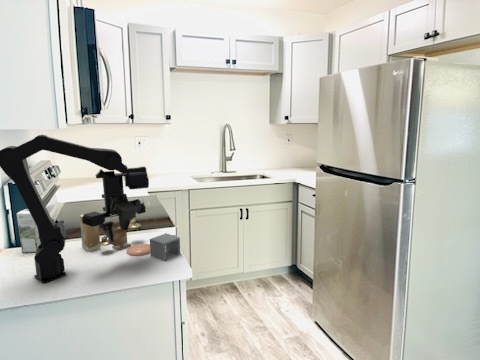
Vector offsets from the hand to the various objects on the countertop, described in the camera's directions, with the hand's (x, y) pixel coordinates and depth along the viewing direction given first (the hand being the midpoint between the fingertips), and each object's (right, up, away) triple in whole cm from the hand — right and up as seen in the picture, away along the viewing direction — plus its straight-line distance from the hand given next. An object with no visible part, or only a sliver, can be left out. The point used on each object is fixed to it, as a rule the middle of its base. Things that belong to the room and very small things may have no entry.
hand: (117, 239), depth 108 cm
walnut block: (0, -1, 0) cm, 1 cm away
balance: (-4, -5, +16) cm, 17 cm away
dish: (+3, -6, +12) cm, 14 cm away
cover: (+13, -7, +9) cm, 17 cm away
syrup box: (-35, -6, +14) cm, 38 cm away
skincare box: (-15, -6, +15) cm, 22 cm away
